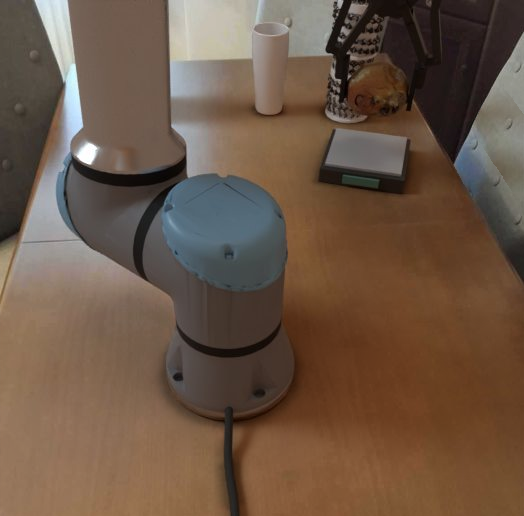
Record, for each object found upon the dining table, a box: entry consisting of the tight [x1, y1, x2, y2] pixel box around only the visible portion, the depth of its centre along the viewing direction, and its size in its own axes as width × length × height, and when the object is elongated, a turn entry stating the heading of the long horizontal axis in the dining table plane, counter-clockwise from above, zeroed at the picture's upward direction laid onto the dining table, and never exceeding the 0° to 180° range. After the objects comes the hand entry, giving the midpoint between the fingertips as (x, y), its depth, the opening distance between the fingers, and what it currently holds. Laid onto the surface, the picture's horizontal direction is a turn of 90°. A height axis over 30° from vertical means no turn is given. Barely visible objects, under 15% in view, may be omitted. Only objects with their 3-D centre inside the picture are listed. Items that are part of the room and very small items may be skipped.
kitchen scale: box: [318, 127, 412, 195], centre depth 103 cm, size 14×14×3 cm
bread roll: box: [346, 61, 410, 118], centre depth 95 cm, size 10×10×8 cm
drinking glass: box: [251, 21, 290, 116], centre depth 112 cm, size 7×7×15 cm
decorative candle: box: [324, 0, 386, 124], centre depth 109 cm, size 9×9×25 cm
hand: (375, 103), depth 96 cm, fingers closed on bread roll, 10 cm apart
